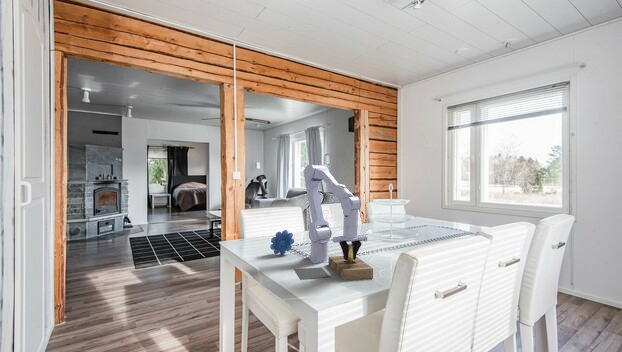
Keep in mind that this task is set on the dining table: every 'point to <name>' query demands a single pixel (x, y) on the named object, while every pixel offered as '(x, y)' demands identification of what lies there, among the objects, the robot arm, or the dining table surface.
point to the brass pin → (350, 254)
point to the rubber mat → (311, 273)
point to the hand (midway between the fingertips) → (349, 259)
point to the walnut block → (350, 268)
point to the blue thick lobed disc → (282, 242)
